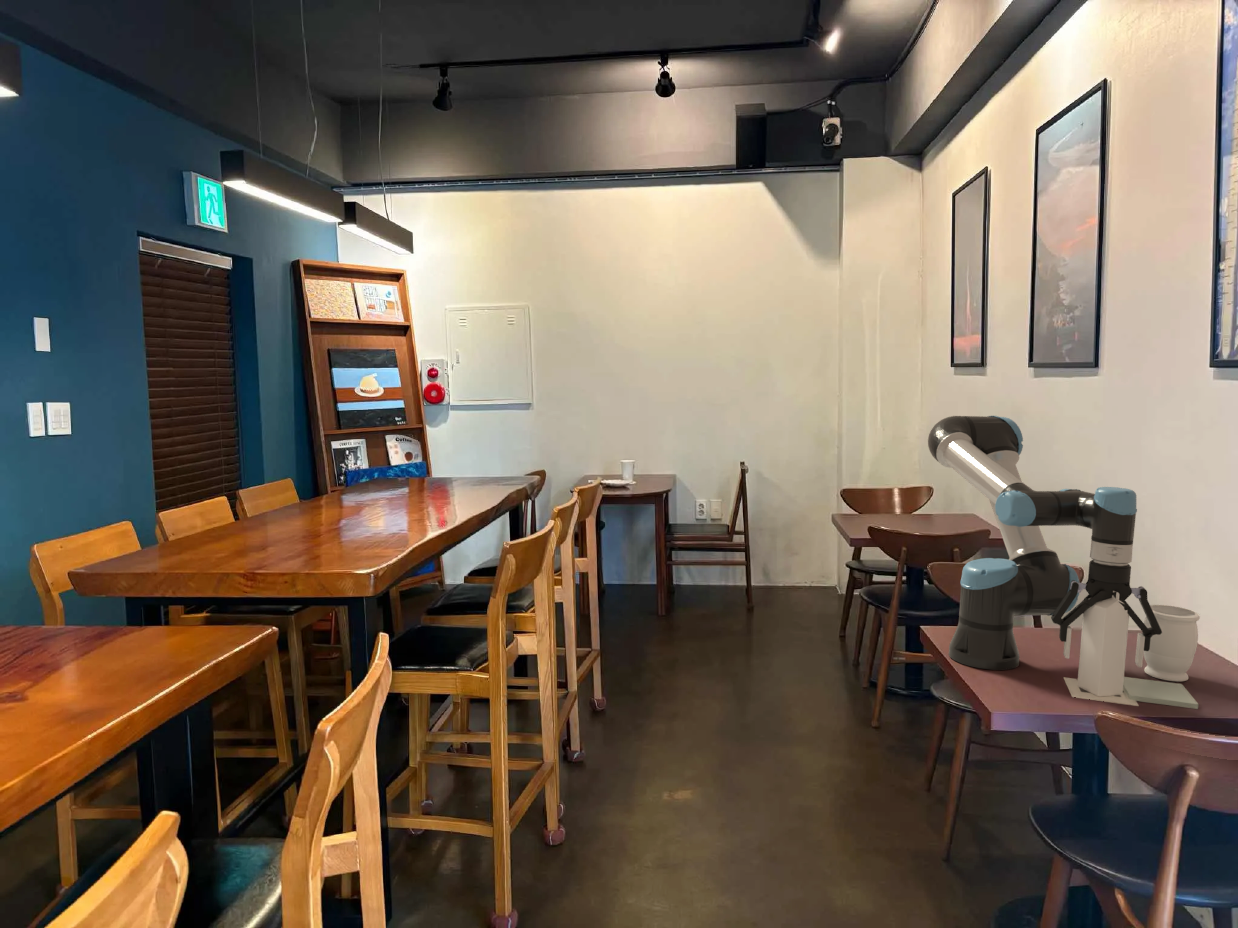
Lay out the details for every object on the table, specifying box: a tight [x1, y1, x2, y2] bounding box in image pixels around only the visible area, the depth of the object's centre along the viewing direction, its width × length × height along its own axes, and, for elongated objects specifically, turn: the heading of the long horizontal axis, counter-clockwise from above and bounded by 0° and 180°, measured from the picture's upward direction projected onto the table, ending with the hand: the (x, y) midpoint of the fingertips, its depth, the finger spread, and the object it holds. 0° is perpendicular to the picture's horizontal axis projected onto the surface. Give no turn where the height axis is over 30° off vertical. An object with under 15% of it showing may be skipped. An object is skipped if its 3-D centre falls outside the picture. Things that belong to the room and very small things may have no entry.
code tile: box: [1063, 677, 1140, 707], centre depth 176 cm, size 12×12×1 cm
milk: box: [1077, 591, 1130, 697], centre depth 175 cm, size 6×6×22 cm
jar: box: [1143, 604, 1201, 683], centre depth 185 cm, size 11×10×15 cm
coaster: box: [1123, 676, 1199, 710], centre depth 175 cm, size 12×12×1 cm
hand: (1101, 660), depth 175 cm, fingers open, 13 cm apart
